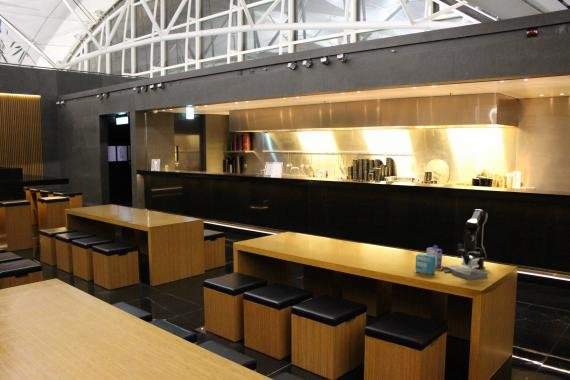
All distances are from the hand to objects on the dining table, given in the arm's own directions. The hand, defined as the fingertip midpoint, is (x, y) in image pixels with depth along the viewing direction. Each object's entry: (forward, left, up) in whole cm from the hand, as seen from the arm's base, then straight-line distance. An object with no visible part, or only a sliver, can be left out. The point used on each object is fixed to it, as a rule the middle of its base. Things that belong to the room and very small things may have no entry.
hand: (470, 264), depth 316 cm
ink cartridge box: (+4, -29, -8) cm, 31 cm away
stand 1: (-2, -13, -8) cm, 16 cm away
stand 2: (0, 0, -8) cm, 8 cm away
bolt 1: (+8, -17, -8) cm, 21 cm away
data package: (+22, -17, -8) cm, 29 cm away
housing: (0, 0, -1) cm, 1 cm away
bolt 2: (+8, -11, -8) cm, 16 cm away
